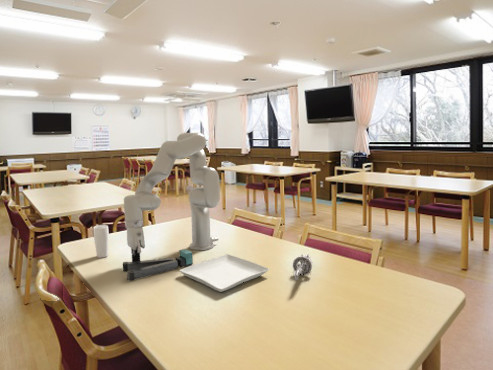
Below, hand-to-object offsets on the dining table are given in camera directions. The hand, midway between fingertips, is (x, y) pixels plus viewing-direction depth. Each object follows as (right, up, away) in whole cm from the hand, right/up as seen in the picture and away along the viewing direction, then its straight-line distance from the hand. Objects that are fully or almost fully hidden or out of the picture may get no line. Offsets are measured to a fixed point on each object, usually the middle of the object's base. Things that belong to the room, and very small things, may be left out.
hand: (136, 262), depth 157 cm
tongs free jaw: (+6, -2, -2) cm, 7 cm away
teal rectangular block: (+22, 0, +2) cm, 22 cm away
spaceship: (+73, -3, -11) cm, 74 cm away
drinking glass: (-21, 0, +14) cm, 25 cm away
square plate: (+40, -4, -12) cm, 42 cm away
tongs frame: (+12, -2, -5) cm, 14 cm away
